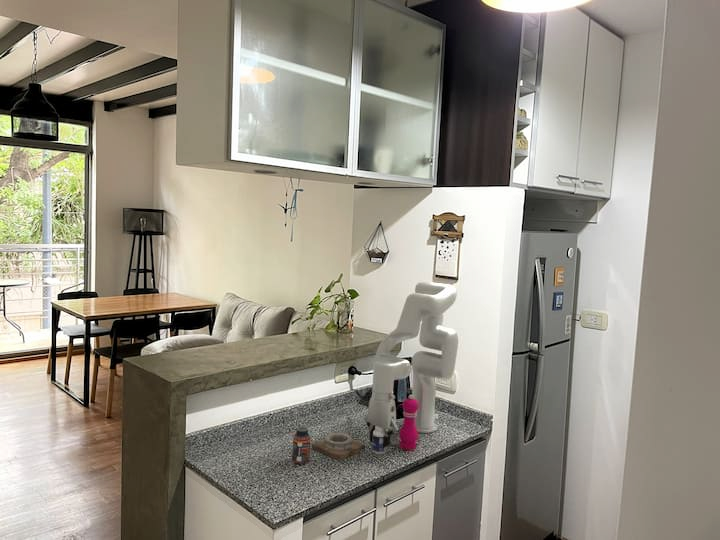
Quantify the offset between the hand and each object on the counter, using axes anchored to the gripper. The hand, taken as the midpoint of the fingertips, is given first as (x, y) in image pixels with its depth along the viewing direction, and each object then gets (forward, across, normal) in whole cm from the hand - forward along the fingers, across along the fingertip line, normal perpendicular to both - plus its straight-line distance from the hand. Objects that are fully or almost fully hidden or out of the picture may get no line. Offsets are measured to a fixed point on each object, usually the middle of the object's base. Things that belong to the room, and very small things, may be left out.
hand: (379, 443), depth 193 cm
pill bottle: (+3, 0, 0) cm, 3 cm away
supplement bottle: (+3, +14, +26) cm, 30 cm away
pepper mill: (+3, -5, -11) cm, 12 cm away
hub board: (+3, +12, +9) cm, 15 cm away
